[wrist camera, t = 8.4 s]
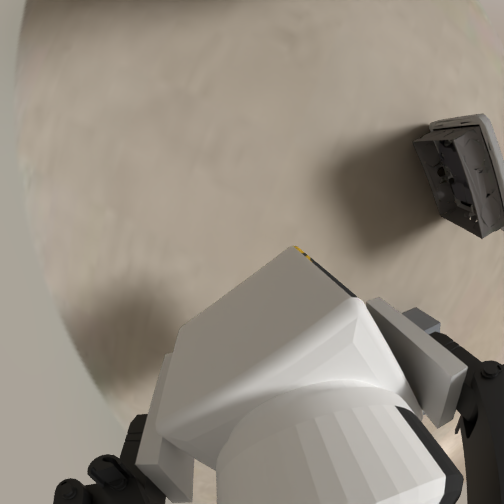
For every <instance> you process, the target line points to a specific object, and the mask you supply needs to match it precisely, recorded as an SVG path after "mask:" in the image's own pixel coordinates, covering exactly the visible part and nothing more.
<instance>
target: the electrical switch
mask: <svg viewBox="0 0 504 504" xmlns="http://www.w3.org/2000/svg"><path fill="white" fill-rule="evenodd" d="M429 129H430V131H431V132H430V133H428V134H425V135H424V136H423V137H422V138H419V139H417V140H415V141H413V145H414V147H415V149H416V151H417V154H418V156H419V158H420V161H421V163H422V166H423V168H424V171H425V173H426V176H427V178H428V181H429V184H430V186H431V189H432V192H433V195H434V198H435V200H436V203H437V206H438V209H439V213H440V215H442V214H443V215H442V216H441V217H443V218H445V219H447V220H449V221H451V222H453V223H454V224H456V225H458V226H460V227H462V228H464V229H465V230H467V231H469V232H471V233H473V234H474V235H476V236H478V237H480V238H481V239H483V238H484V237H486V236H487V235H489V234H490V233H492V232H494V231H497V230H499V229H500V228H501V230H503V231H504V160H503V157H502V154H501V150H500V147H499V144H498V141H497V138H496V135H495V133H494V130H493V127H492V124H491V122H490V120H489V119H488V118H487V116H486V115H484V114H476V115H468V116H462V117H455V118H449V119H443V120H438V121H435V122H432V123H430V125H429ZM425 146H426V147H425ZM425 162H426V163H425ZM439 162H440V163H439ZM438 163H439V164H438ZM436 164H438V165H437V166H435V165H436ZM441 164H442V165H441ZM433 166H435V167H433ZM442 166H443V167H444V171H445V176H442V177H439V176H438V174H437V171H438V169H440V168H441V167H442ZM443 181H448V182H445V183H442V184H440V183H441V182H443ZM439 184H440V185H439ZM453 195H454V196H453ZM439 199H440V200H439ZM455 200H456V203H455V202H454V201H455ZM449 201H450V202H449ZM447 202H449V203H447ZM446 212H447V213H446ZM444 213H445V214H444ZM470 217H471V220H470V219H469V218H470ZM476 220H478V221H477V222H475V221H476Z"/></svg>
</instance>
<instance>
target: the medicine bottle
mask: <svg viewBox="0 0 504 504" xmlns="http://www.w3.org/2000/svg"><path fill="white" fill-rule="evenodd" d="M422 418H423V412H422V409H421V407H420V405H419V403H418V401H417V399H416V397H415V395H414V393H413V391H412V389H411V387H410V385H409V383H408V382H407V380H406V378H405V376H404V374H403V372H402V370H401V368H400V366H399V364H398V363H397V361H396V359H395V357H394V355H393V353H392V351H391V350H390V348H389V346H388V344H387V342H386V341H385V339H384V337H383V335H382V334H381V332H380V330H379V328H378V327H377V325H376V323H375V321H374V320H373V318H372V316H371V314H370V313H369V311H368V309H367V308H366V306H365V304H364V303H363V301H362V300H360V299H359V298H358V297H357V296H356V295H355V294H353V293H352V292H351V291H350V290H349V289H348V288H346V287H345V286H344V285H343V284H342V283H340V282H339V281H338V280H337V279H336V278H335V277H333V276H332V275H331V274H330V273H329V272H327V271H326V270H325V269H324V268H323V267H321V266H320V265H319V264H318V263H317V262H315V261H314V260H313V259H312V258H310V257H309V256H308V255H307V254H306V253H304V252H303V251H302V250H301V249H299V248H298V247H297V246H291V247H289V248H287V249H286V250H285V251H283V252H282V253H281V254H279V255H278V256H277V257H275V258H274V259H273V260H271V261H270V262H269V263H267V264H266V265H265V266H263V267H262V268H261V269H259V270H258V271H257V272H255V273H254V274H253V275H251V276H250V277H249V278H247V279H246V280H245V281H243V282H242V283H241V284H239V285H238V286H237V287H235V288H234V289H233V290H231V291H230V292H228V293H227V294H226V295H224V296H223V297H222V298H220V299H219V300H218V301H216V302H215V303H213V304H212V305H211V306H209V307H208V308H207V309H205V310H204V311H203V312H201V313H200V314H198V315H197V316H196V317H194V318H193V319H192V320H190V321H189V322H187V323H186V324H185V325H183V326H182V327H181V328H180V329H179V332H178V336H177V339H176V343H175V347H174V350H173V354H172V358H171V362H170V366H169V369H168V373H167V377H166V381H165V385H164V389H163V393H162V397H161V401H160V406H159V410H158V414H157V418H156V423H155V425H156V431H157V433H158V434H159V435H161V436H162V437H163V438H165V439H166V440H168V441H169V442H170V443H172V444H173V445H175V446H176V447H178V448H179V449H181V450H182V451H184V452H185V453H187V454H189V455H190V456H192V457H193V458H195V459H197V460H198V461H200V462H202V463H203V464H205V465H207V466H208V467H210V468H212V469H214V470H215V471H216V481H217V504H455V503H456V502H457V500H458V499H459V497H460V495H461V491H462V485H463V480H464V479H463V475H462V474H461V473H460V471H459V470H458V469H457V467H456V466H455V465H454V463H453V462H452V461H451V460H450V458H449V457H448V456H447V454H446V453H445V452H444V450H443V449H442V448H441V446H440V445H439V444H438V443H437V441H436V440H435V439H434V437H433V436H432V435H431V434H430V432H429V431H428V430H427V429H426V427H425V426H424V425H423V423H422V422H421V421H422Z"/></svg>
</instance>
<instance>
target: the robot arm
mask: <svg viewBox="0 0 504 504" xmlns="http://www.w3.org/2000/svg"><path fill="white" fill-rule="evenodd" d="M366 306H367V309H368V311H369V313H370V314H371V316H372V318H373V320H374V321H375V323H376V325H377V327H378V328H379V330H380V332H381V334H382V335H383V337H384V339H385V341H386V342H387V344H388V346H389V348H390V350H391V351H392V353H393V355H394V357H395V359H396V361H397V363H398V364H399V366H400V368H401V370H402V372H403V374H404V376H405V378H406V380H407V382H408V383H409V385H410V387H411V389H412V391H413V393H414V395H415V397H416V399H417V401H418V403H419V405H420V407H421V409H422V410H423V412H424V413H425V414H426V415H427V416H428V418H429V419H430V420H431V421H432V423H433V424H434V425H435V426H436V427H437V429H438V428H440V427H441V426H443V425H444V424H446V423H448V422H449V421H451V420H452V419H453V417H454V414H455V411H456V410H457V411H458V412H459V413H460V414H461V416H460V418H459V421H458V424H457V426H456V429H455V434H457V433H458V431H459V428H460V429H461V435H462V442H463V449H464V458H465V467H466V480H467V501H468V504H504V364H503V365H501V364H500V363H498V362H495V361H484V362H481V361H479V360H478V359H477V358H476V357H474V356H473V355H472V354H470V353H469V352H468V351H466V350H465V349H464V348H463V347H461V346H459V344H457V343H456V342H453V340H452V339H451V338H449V337H448V336H447V335H445V334H442V333H439V332H436V331H435V332H433V333H431V334H429V335H428V334H427V333H426V332H425V331H423V330H422V329H421V328H419V327H418V326H417V325H416V324H414V323H413V322H412V321H410V320H409V319H408V318H407V317H405V316H404V315H403V314H401V313H400V312H399V311H397V310H396V309H395V308H394V307H392V306H391V305H390V304H388V303H387V302H386V301H384V300H383V299H382V298H380V297H378V298H375V299H372V300H369V301H366ZM172 354H173V353H168V354H165V357H164V360H163V364H162V367H161V370H160V374H159V377H158V380H157V384H156V387H155V391H154V394H153V398H152V401H151V405H150V409H149V412H148V414H141V415H137V416H136V417H135V418H134V420H133V421H132V422H131V423H130V426H129V429H128V432H127V433H128V435H127V436H126V439H125V443H124V445H123V449H122V452H121V455H120V459H119V458H118V457H116V456H114V455H109V454H107V455H102V456H99V457H98V458H96V459H94V460H93V461H92V462H91V463H90V465H89V467H88V475H89V476H90V477H91V478H92V479H93V480H94V481H95V482H96V483H97V484H91V485H86V486H84V485H83V484H82V483H81V482H80V481H78V480H76V479H71V478H70V479H65V480H63V481H62V482H60V483H59V485H58V486H57V488H56V490H55V495H54V502H53V504H165V499H166V497H167V498H168V499H169V500H170V501H171V502H173V503H174V502H175V503H177V502H178V503H181V502H192V496H193V473H194V458H193V457H192V456H190V455H189V454H187V453H185V452H184V451H182V450H181V449H179V448H178V447H176V446H175V445H173V444H172V443H170V442H169V441H168V440H166V439H165V438H163V437H162V436H161V435H159V434H158V433H157V431H156V425H155V423H156V418H157V414H158V410H159V406H160V401H161V397H162V393H163V389H164V385H165V381H166V377H167V373H168V369H169V366H170V362H171V358H172Z"/></svg>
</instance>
